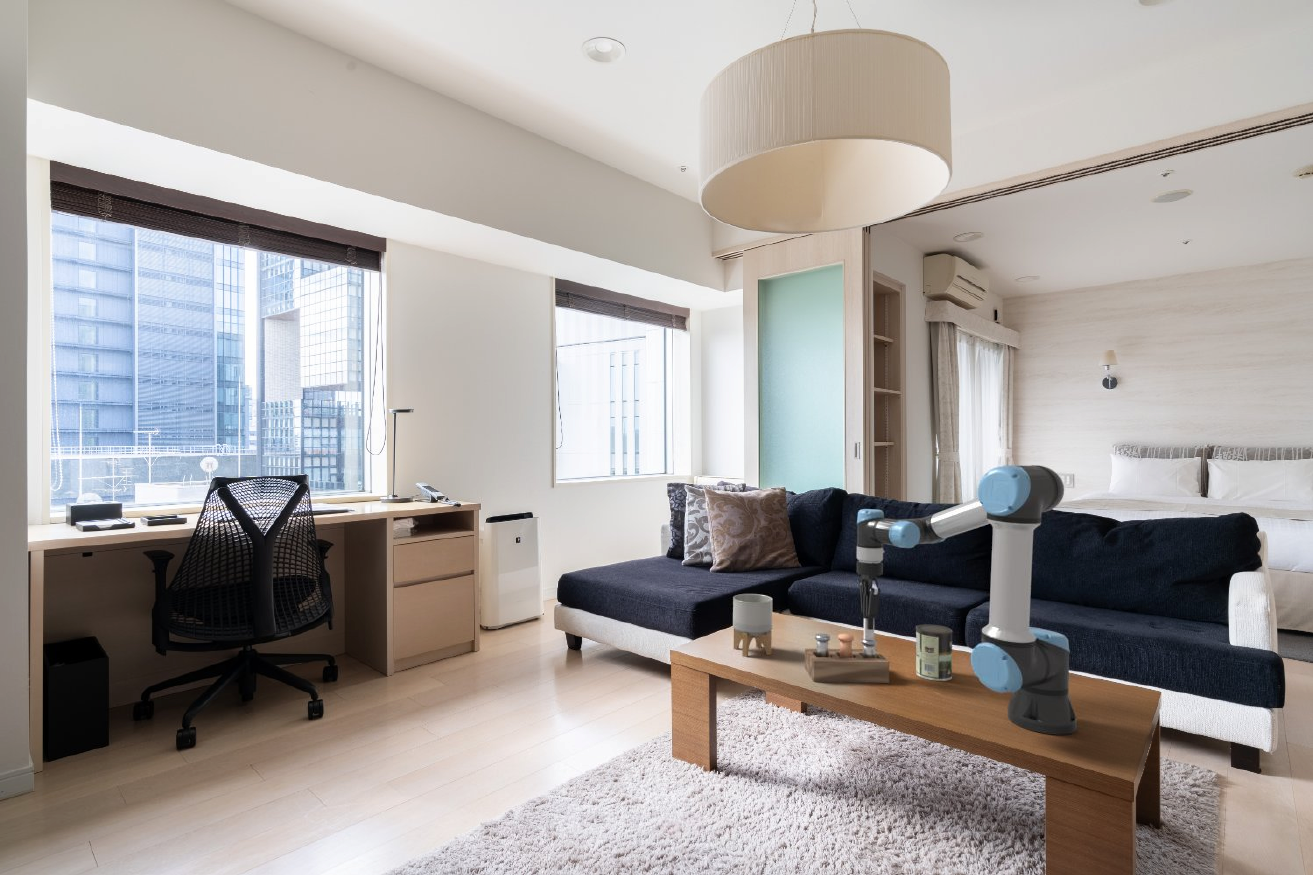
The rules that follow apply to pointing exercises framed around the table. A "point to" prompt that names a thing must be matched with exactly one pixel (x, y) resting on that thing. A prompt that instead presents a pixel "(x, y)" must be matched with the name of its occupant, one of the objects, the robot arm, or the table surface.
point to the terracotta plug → (845, 645)
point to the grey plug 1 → (822, 644)
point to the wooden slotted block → (846, 667)
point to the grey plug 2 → (869, 648)
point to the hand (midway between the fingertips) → (868, 639)
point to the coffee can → (934, 652)
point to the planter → (752, 621)
